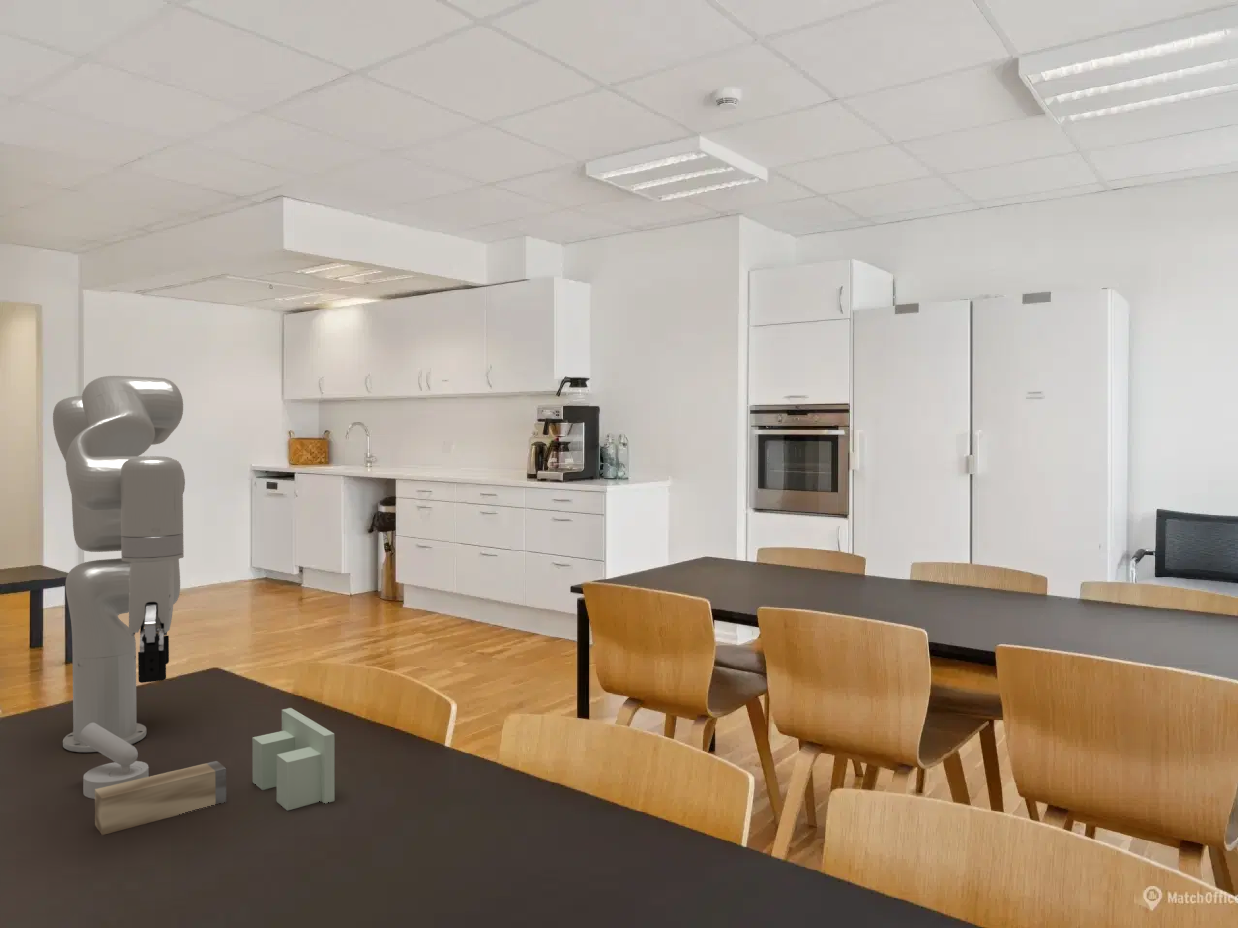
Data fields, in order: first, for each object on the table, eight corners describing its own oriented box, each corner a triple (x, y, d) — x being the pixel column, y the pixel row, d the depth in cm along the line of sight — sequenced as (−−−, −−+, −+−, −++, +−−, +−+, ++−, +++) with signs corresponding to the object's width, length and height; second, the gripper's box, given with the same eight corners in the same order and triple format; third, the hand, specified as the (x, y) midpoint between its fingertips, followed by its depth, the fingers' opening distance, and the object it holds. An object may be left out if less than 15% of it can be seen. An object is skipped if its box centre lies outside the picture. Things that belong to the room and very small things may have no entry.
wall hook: (105, 713, 138) (160, 718, 136) (106, 773, 138) (161, 779, 136) (60, 731, 130) (118, 737, 128) (61, 795, 130) (119, 801, 128)
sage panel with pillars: (249, 779, 136) (249, 716, 136) (291, 769, 141) (290, 707, 140) (290, 813, 124) (290, 743, 124) (334, 800, 129) (334, 733, 128)
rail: (95, 825, 120) (94, 789, 120) (217, 793, 131) (216, 760, 131) (102, 835, 117) (101, 798, 117) (226, 802, 128) (226, 768, 128)
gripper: (126, 543, 126) (128, 661, 126) (115, 556, 110) (117, 691, 111) (184, 541, 129) (186, 656, 130) (181, 553, 114) (183, 684, 114)
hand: (154, 672), depth 120 cm, fingers open, 9 cm apart
